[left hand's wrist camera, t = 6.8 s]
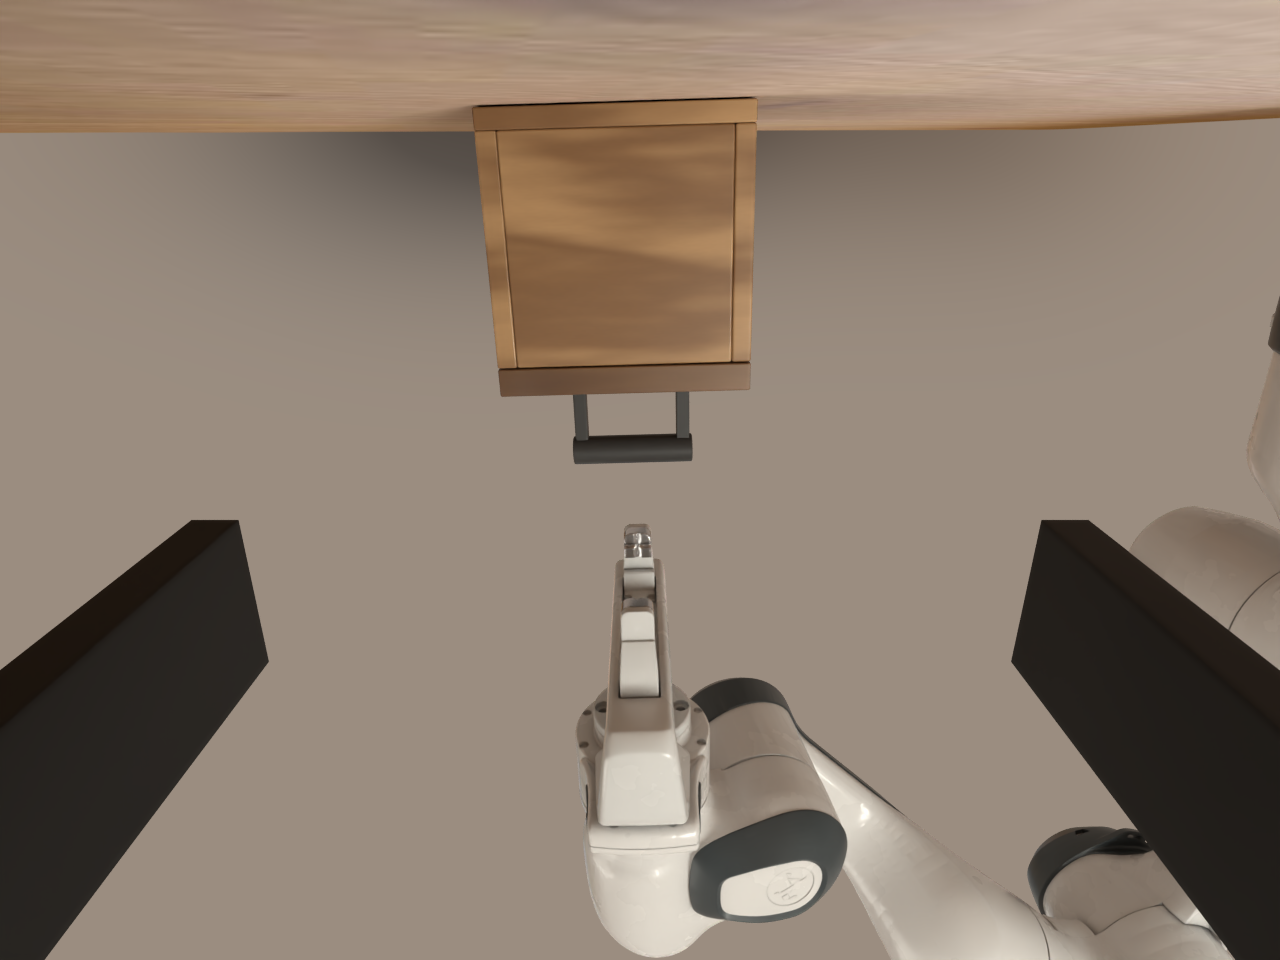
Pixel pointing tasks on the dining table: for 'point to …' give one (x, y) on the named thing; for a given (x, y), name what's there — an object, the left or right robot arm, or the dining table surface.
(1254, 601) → the right robot arm
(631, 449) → the lid
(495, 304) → the chest
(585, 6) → the dining table surface
